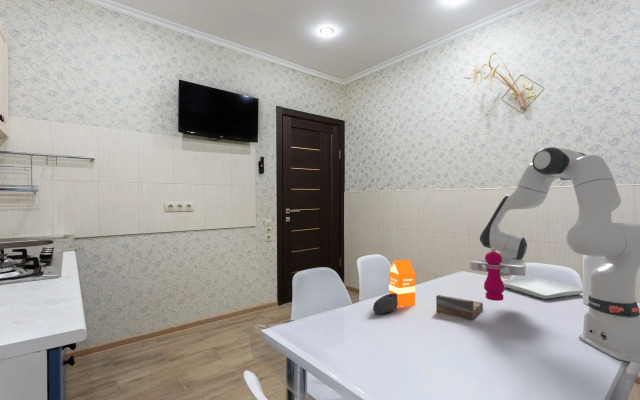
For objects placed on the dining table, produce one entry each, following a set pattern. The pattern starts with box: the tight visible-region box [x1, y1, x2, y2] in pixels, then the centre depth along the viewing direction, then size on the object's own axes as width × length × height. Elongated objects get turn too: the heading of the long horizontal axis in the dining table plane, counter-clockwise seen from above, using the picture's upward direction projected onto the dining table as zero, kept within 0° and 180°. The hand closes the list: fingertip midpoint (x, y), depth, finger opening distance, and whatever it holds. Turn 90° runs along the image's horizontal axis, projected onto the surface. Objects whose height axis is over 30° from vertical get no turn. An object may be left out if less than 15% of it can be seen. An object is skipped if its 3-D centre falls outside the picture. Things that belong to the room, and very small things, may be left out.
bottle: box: [582, 255, 604, 306], centre depth 144 cm, size 8×8×30 cm
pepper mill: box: [483, 248, 506, 302], centre depth 128 cm, size 7×7×20 cm
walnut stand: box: [435, 294, 484, 321], centre depth 137 cm, size 16×14×7 cm
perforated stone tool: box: [372, 293, 398, 315], centre depth 137 cm, size 15×5×7 cm, turn 128°
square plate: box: [502, 277, 583, 300], centre depth 166 cm, size 27×27×4 cm
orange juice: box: [388, 259, 416, 308], centre depth 147 cm, size 8×9×20 cm
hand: (493, 270), depth 128 cm, fingers closed on pepper mill, 5 cm apart
